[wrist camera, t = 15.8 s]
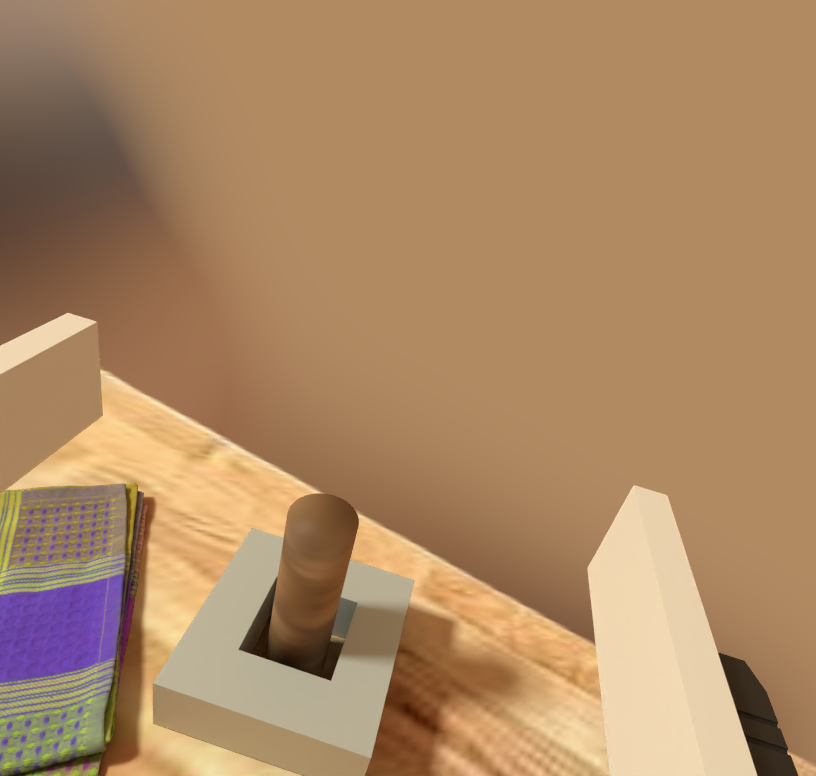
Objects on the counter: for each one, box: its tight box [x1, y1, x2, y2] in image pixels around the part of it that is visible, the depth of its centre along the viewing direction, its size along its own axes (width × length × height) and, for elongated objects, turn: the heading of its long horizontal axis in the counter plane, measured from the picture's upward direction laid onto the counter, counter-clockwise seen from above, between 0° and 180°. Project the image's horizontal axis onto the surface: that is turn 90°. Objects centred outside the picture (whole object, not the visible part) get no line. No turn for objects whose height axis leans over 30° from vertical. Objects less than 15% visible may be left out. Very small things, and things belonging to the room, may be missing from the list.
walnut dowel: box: [265, 494, 359, 677], centre depth 39 cm, size 4×4×15 cm
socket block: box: [153, 528, 414, 776], centre depth 41 cm, size 14×14×4 cm
